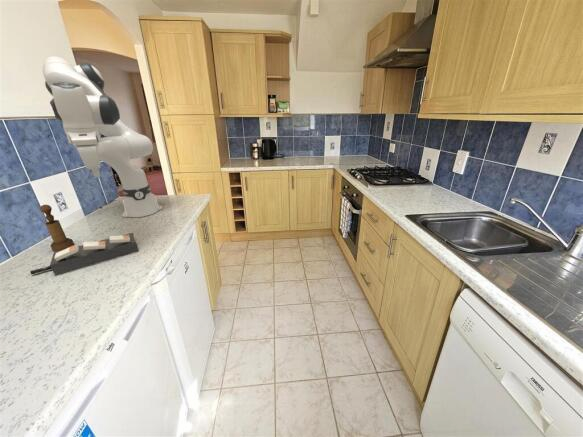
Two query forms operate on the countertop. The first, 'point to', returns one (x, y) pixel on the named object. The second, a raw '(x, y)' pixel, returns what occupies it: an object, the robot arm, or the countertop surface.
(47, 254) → the countertop surface
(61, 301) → the countertop surface
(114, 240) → the block
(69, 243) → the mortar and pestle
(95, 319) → the countertop surface
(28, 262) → the countertop surface
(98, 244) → the rocker middle
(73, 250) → the rocker
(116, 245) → the power strip
